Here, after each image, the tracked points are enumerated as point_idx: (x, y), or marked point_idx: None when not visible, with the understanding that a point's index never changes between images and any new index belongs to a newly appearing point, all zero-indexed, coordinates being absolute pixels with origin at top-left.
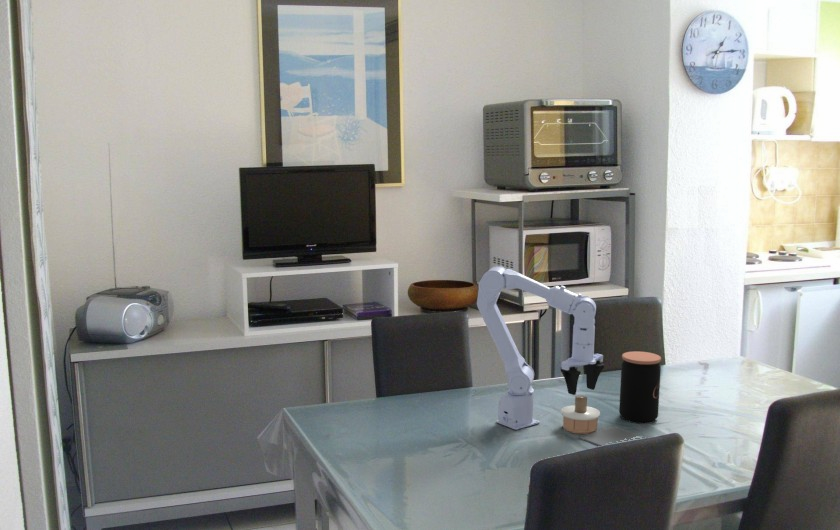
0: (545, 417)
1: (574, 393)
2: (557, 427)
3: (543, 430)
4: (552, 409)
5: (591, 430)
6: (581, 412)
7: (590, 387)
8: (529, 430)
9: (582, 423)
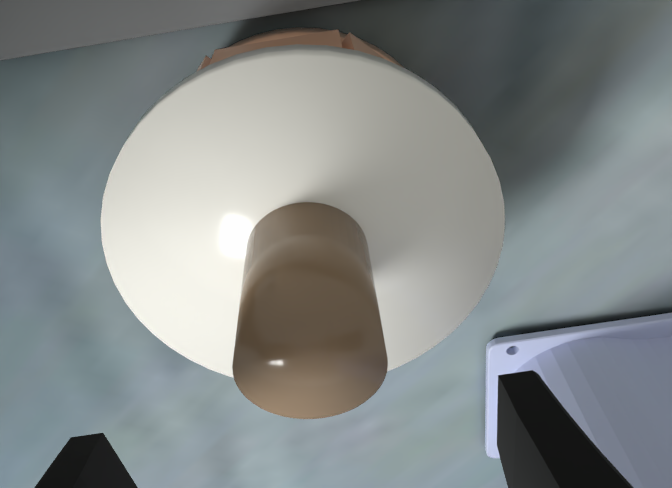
0: (374, 394)
1: (539, 385)
2: None
3: (570, 241)
4: (246, 463)
5: (291, 36)
6: (338, 214)
7: (113, 484)
8: (643, 275)
9: None
